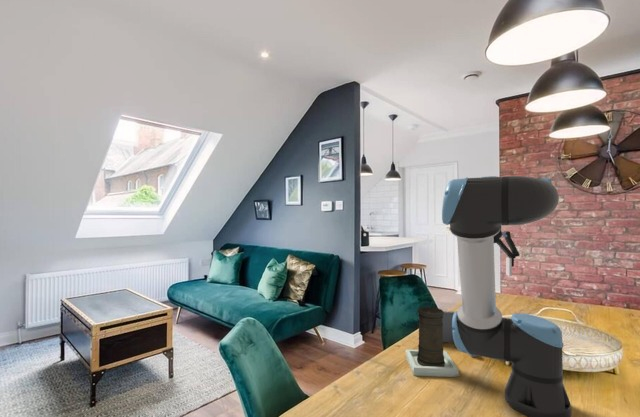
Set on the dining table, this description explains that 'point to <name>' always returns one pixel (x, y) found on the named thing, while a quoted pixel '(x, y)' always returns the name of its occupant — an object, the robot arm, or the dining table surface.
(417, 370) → the tray
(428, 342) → the container
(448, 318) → the dock
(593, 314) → the dining table surface
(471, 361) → the dining table surface
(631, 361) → the dining table surface
